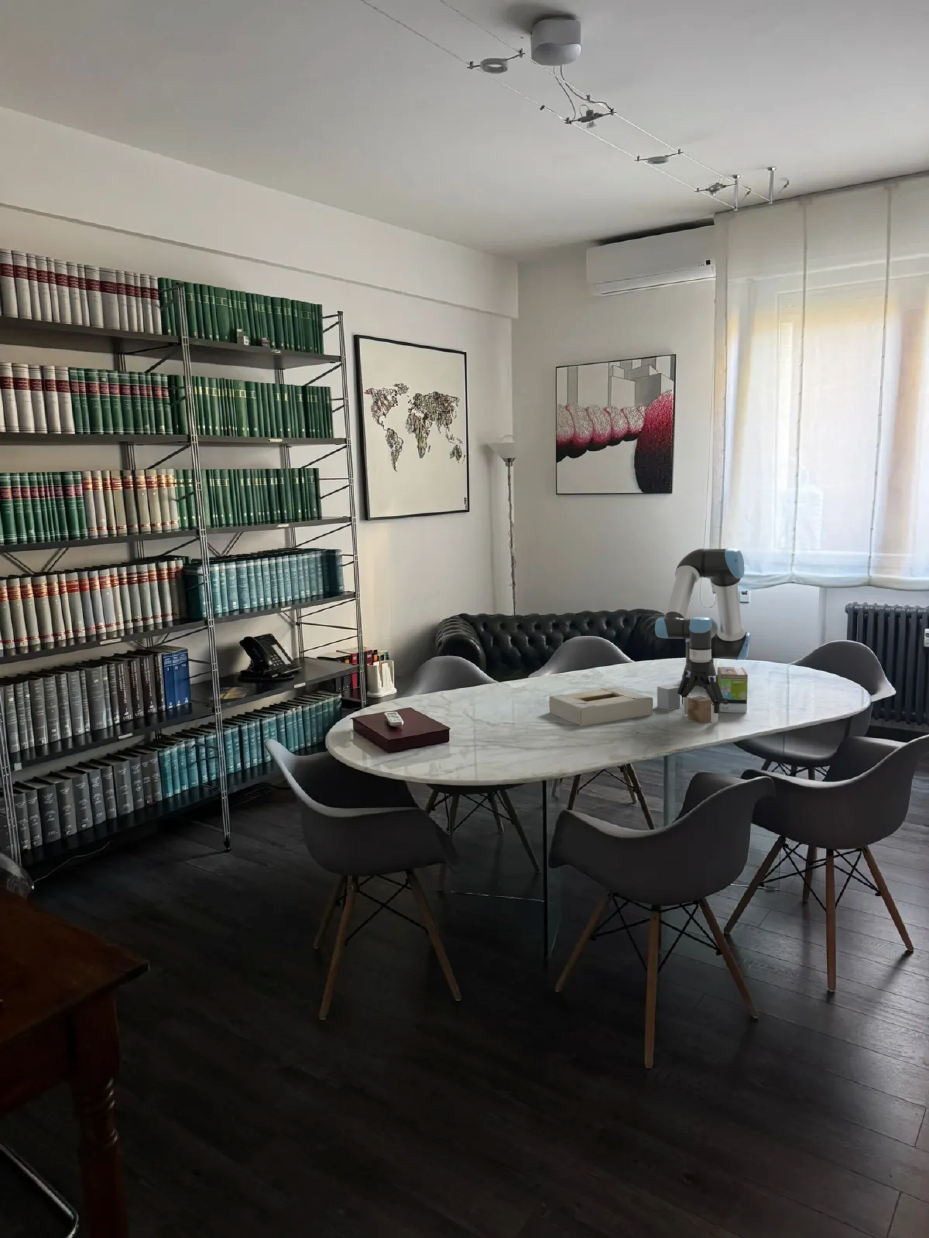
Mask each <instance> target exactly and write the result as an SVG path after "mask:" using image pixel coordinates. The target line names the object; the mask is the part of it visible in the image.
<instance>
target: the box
mask: <svg viewBox="0 0 929 1238" xmlns="http://www.w3.org/2000/svg"><path fill="white" fill-rule="evenodd" d="M548 700H549V703H548V706H549V708H548V709H549V713H550V714H552V715H555V716H556V717H560V718H561V719H564V720H566V721H569V722H571V723H573V724H576V725H578V726H580V727H582V726H589V725H596V724H601V723H608V722H613V721H620V720H627V719H632V718H638V717H644V716H650V715H653V712H654V711H653V710H654V709H653V708H654V699H653V697H652V696H648V695H645V694H642V693H638V692H634V691H632V690H629V689H626V688H623V687H619V686H617V685H615V686H610V687H609V686H608V687H601V688H600V689H594V690H587V691H581V692H580V691H578V692H571V693H565V694H555V695H550V696H549V698H548Z"/></svg>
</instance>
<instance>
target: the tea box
mask: <svg viewBox="0 0 929 1238" xmlns="http://www.w3.org/2000/svg"><path fill="white" fill-rule="evenodd" d="M716 669H717V671H716V675H717V680H718V684H719V687H720V690H721V693H722V696H723V698H724V703H721V704H720V705H719V713H735V714H736V713H739V714H741V713H742V714H743V713H744V714H745V713H747V711H748V683H749V682H748V679H749V678H748V677H749V676H748V673H747V671H746V669H745V668H744V666H743V667H741V666H739V667H738V666H718V667H717V668H716Z"/></svg>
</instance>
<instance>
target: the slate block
mask: <svg viewBox="0 0 929 1238" xmlns="http://www.w3.org/2000/svg"><path fill="white" fill-rule="evenodd" d="M679 687H680V686H677V685H672V684H664V685H660V686H657V687H656V694H657V695H656V697H657V698H656V699H657V700H656V702H657V703H656V704H657V706H656V707H657V708H660V709H663V710H675V709H678V708H681V695H680V694H678V693H677V692H678V689H679Z"/></svg>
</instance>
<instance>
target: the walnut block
mask: <svg viewBox="0 0 929 1238" xmlns="http://www.w3.org/2000/svg"><path fill="white" fill-rule="evenodd" d="M711 704H713V702H712V701H711V699H710V697H706V696H702V695H698V696H693V697H690V698H688V714H687V720H688V721H691V722H695V723H698V724H703V723H708V722H711Z"/></svg>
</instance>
